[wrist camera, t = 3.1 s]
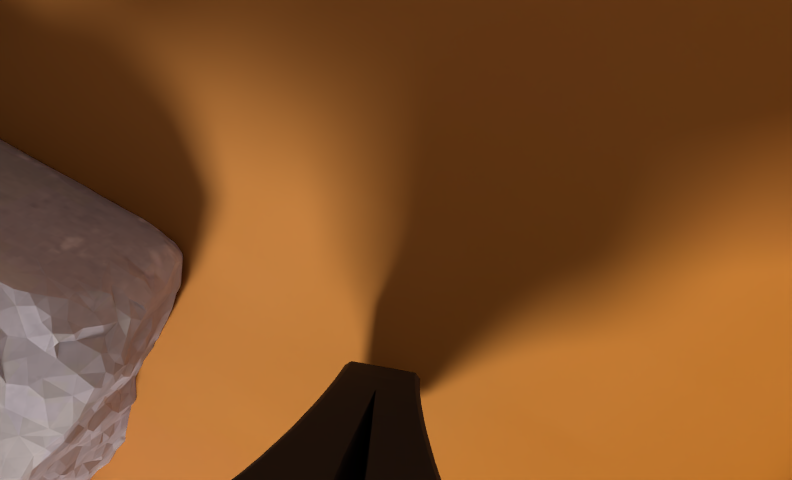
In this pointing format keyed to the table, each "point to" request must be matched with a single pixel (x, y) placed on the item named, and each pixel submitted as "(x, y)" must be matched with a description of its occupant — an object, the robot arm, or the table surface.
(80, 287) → the stone block
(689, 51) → the table surface
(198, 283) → the table surface
